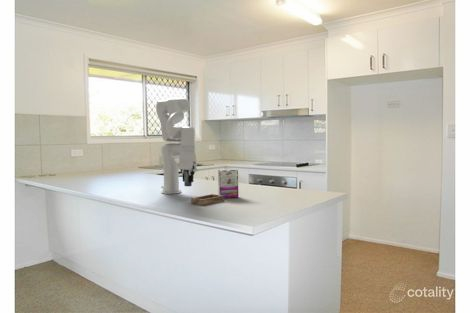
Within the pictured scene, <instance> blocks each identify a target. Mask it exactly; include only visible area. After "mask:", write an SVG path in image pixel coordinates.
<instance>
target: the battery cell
mask: <svg viewBox="0 0 470 313" xmlns="http://www.w3.org/2000/svg"><path fill="white" fill-rule="evenodd" d="M191 172H192V171H191ZM188 175H189V170H184V182H183V183H184V187H192V186H193V185H192V183H193V182H191V183H189V182H188Z"/></svg>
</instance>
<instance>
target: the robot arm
mask: <svg viewBox="0 0 470 313" xmlns="http://www.w3.org/2000/svg"><path fill="white" fill-rule="evenodd" d="M190 106H191V105H190V102H189V100H188V99H187V98H184V97H171V98H168V99H161V100H160V99H159V100H158V101H157V102H156V107H155V110H156V114H157V117H158V119H159V122H160V128H161V129H160V130H161V138H162V141H163V142H164V143H165V144H163V145H162V146H161V155H162V164H163V166H162V168H163V170H162V172H163V185H162V186H161V187H160V188H161V189H162V190H161V194H163V195H173V194H174V195H175V194H180V193H182V190H181V189H180V182H179V181H180V180H179V178H180V177H179V175H180V174H179V173H181V175H182V182H183V183H184V170H189V175H188V182H189V183H191V182H192V183H194V176H195V174H196V172H197V171H198V168H197V155H196V152H195V151H196V150H195V149H196V147H195V144H196V143H195V136H196V134H195V130H196V129H195V128H194V127H193V126H187V125H186V126H185V125H184V126H179V125H178V126H177V125H176V124H178V123H181V122H183V120H184V119H185V113H188V112H189V111H190ZM175 125H176V126H175ZM175 159H178V162H177V160H175ZM179 170H180V172H179ZM191 171H192V172H191Z"/></svg>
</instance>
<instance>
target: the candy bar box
mask: <svg viewBox="0 0 470 313" xmlns="http://www.w3.org/2000/svg"><path fill="white" fill-rule="evenodd" d="M217 179H218V180H217V181H218V184H217V185H218V195H223V196H224V199H232V198H233V199H235V198H239V170H238V169H237V168H236V169H235V168H232V169H218V170H217Z"/></svg>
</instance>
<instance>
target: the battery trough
mask: <svg viewBox="0 0 470 313" xmlns="http://www.w3.org/2000/svg"><path fill="white" fill-rule="evenodd" d="M190 201H191V202H190V203H191V204H192V205H197V206H203V207H204V206H208V205H213V204H218V203H221V202H224V201H225V198H224V196H223V195H219V194H214V193H211V194H210V193H209V194H206V195H201V196H196V197H191V198H190Z"/></svg>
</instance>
